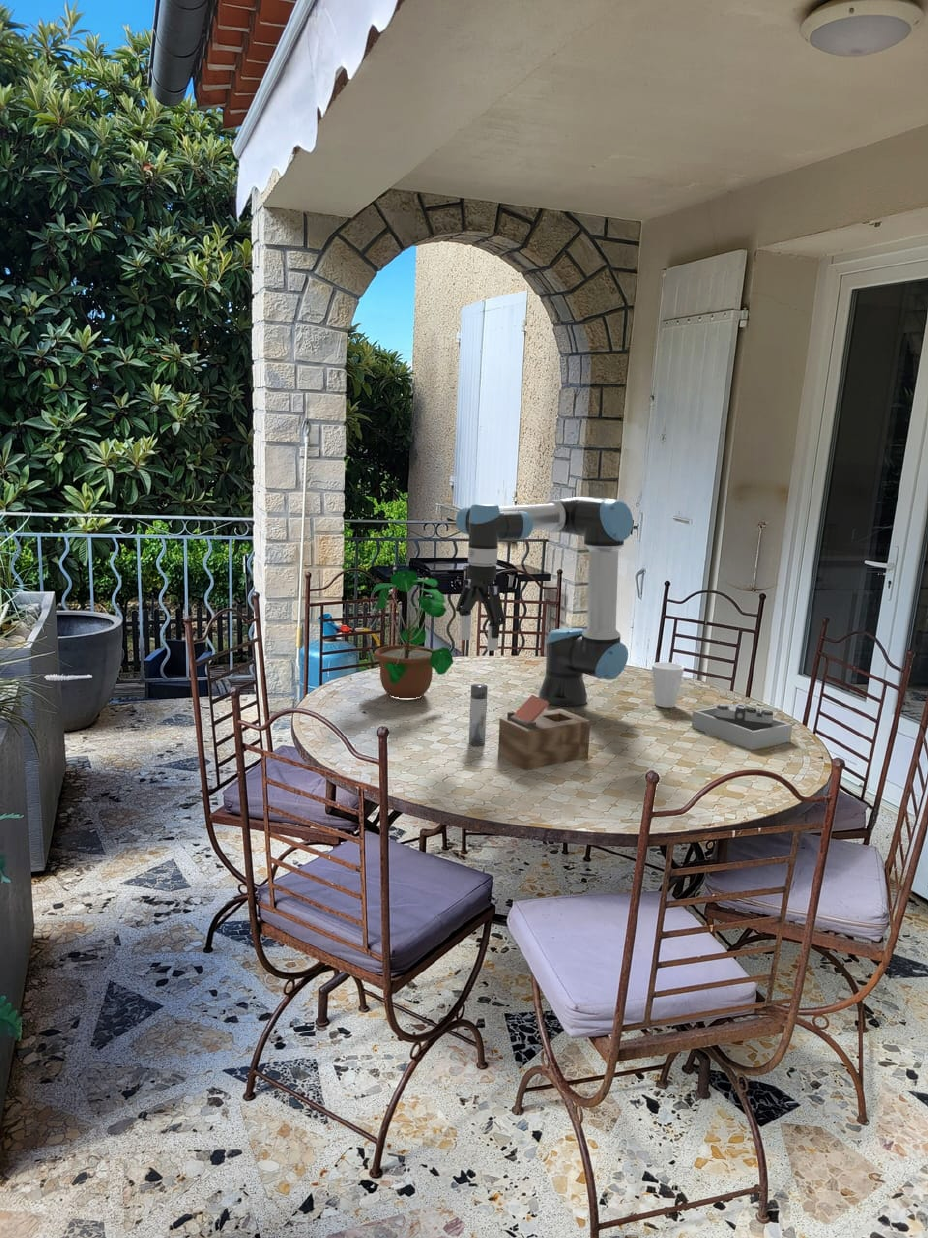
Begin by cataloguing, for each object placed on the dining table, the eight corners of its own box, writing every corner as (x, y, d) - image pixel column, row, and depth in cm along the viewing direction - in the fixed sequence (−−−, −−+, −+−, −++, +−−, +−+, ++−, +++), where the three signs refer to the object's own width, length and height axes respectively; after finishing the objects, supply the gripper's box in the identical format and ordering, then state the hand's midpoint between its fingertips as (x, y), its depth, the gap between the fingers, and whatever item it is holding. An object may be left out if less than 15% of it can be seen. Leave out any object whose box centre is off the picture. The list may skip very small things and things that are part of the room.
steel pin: (479, 740, 237) (481, 683, 234) (488, 745, 234) (490, 687, 231) (465, 742, 235) (467, 684, 232) (474, 747, 231) (476, 689, 228)
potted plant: (426, 715, 258) (430, 582, 251) (349, 698, 273) (351, 572, 266) (480, 693, 284) (485, 572, 277) (407, 678, 299) (410, 563, 291)
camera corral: (729, 720, 265) (730, 704, 264) (790, 741, 246) (792, 724, 245) (691, 727, 256) (693, 710, 255) (752, 750, 238) (753, 732, 237)
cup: (646, 707, 275) (649, 667, 272) (651, 700, 284) (654, 660, 281) (678, 712, 271) (681, 671, 269) (683, 704, 280) (686, 664, 278)
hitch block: (559, 744, 237) (561, 702, 234) (587, 758, 227) (590, 714, 225) (497, 755, 226) (499, 712, 224) (525, 770, 216) (527, 725, 214)
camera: (771, 735, 253) (774, 702, 251) (770, 746, 244) (774, 711, 242) (714, 727, 258) (718, 695, 256) (712, 737, 249) (715, 704, 247)
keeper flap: (533, 696, 226) (531, 694, 225) (550, 703, 220) (548, 701, 219) (511, 720, 223) (509, 717, 223) (528, 728, 217) (526, 725, 217)
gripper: (445, 558, 235) (442, 636, 238) (496, 571, 214) (492, 656, 218) (469, 558, 238) (466, 634, 242) (521, 570, 218) (517, 653, 221)
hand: (478, 644), depth 230 cm, fingers open, 13 cm apart
